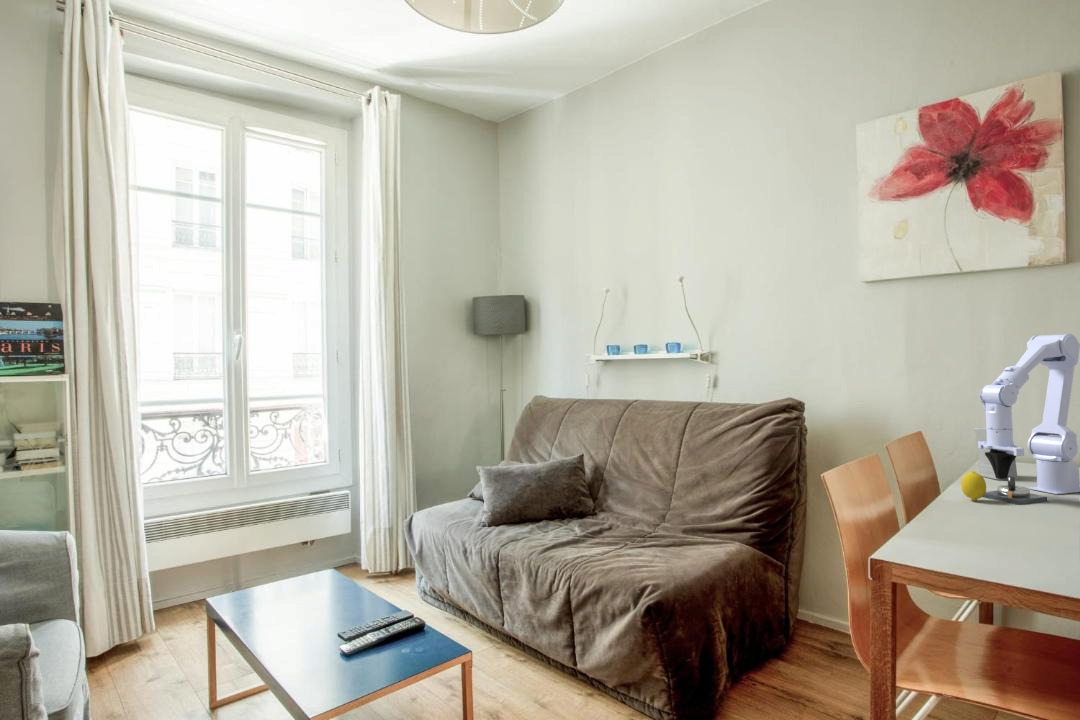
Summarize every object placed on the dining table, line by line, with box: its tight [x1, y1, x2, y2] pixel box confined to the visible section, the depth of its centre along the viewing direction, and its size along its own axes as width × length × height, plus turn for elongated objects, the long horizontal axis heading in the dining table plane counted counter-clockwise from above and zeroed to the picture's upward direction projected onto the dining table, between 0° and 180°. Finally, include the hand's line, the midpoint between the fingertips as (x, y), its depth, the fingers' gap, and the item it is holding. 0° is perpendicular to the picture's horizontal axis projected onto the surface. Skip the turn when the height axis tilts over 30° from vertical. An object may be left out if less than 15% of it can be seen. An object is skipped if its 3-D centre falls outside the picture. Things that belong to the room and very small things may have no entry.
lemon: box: [960, 470, 987, 502], centre depth 165 cm, size 6×6×8 cm
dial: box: [996, 476, 1031, 497], centre depth 166 cm, size 7×7×5 cm
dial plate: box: [982, 490, 1048, 506], centre depth 166 cm, size 10×10×3 cm
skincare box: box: [974, 426, 1018, 481], centre depth 193 cm, size 8×7×16 cm
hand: (1001, 478), depth 167 cm, fingers closed
